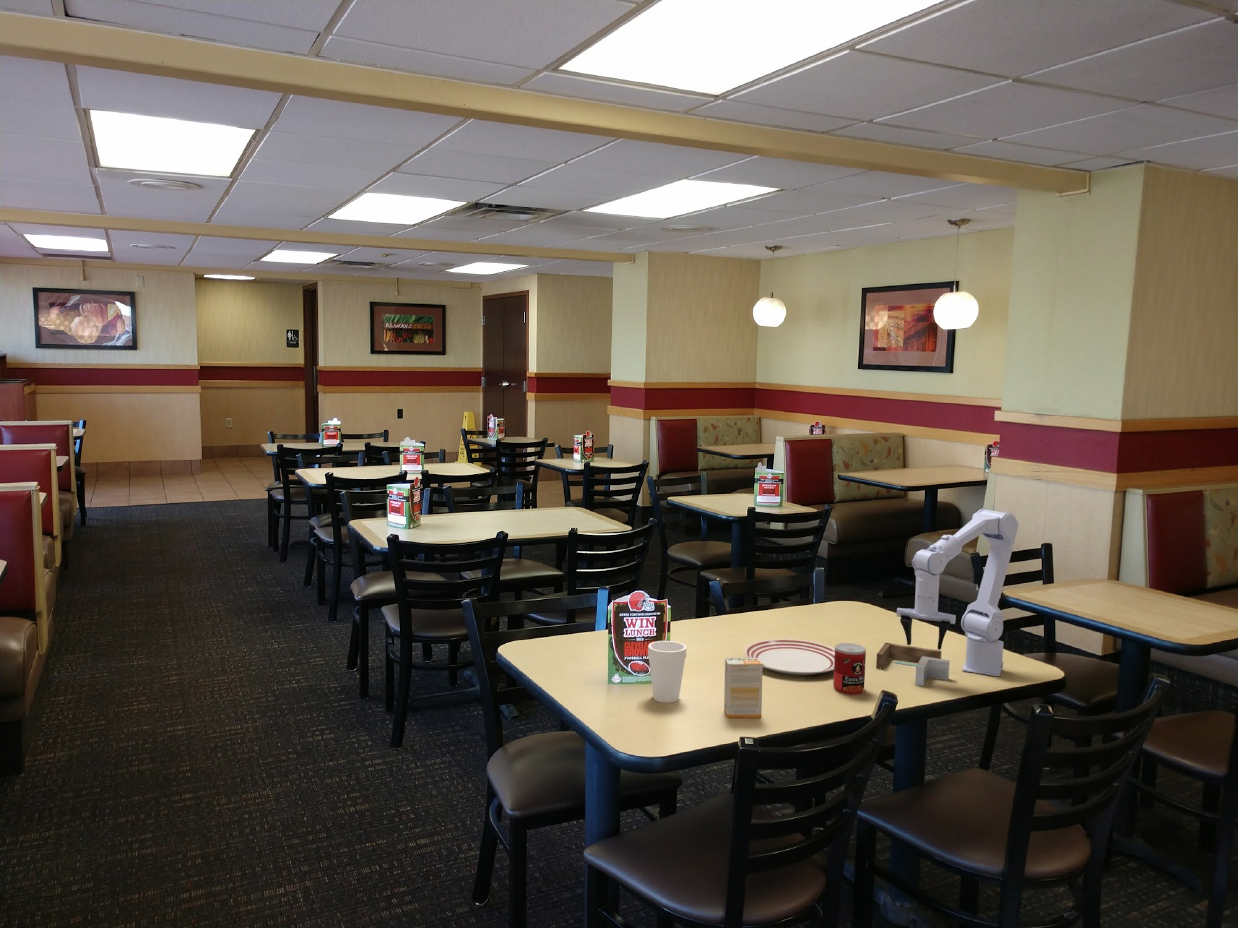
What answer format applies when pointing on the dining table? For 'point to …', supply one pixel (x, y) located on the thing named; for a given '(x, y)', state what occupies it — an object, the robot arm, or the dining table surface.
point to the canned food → (849, 668)
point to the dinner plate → (793, 656)
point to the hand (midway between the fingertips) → (924, 646)
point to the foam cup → (666, 669)
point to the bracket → (931, 670)
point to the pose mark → (906, 663)
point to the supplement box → (743, 688)
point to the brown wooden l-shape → (903, 653)
